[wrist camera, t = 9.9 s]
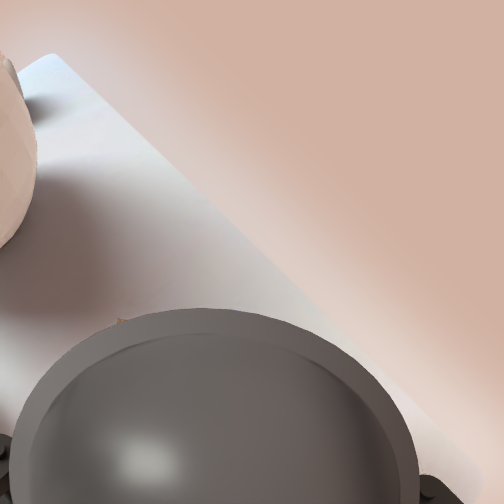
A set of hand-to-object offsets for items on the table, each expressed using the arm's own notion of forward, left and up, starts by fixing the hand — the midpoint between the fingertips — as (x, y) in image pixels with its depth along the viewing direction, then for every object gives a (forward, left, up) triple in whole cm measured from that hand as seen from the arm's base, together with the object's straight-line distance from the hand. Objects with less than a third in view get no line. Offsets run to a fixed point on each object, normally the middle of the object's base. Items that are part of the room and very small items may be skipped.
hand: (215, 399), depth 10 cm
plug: (0, -2, -6) cm, 6 cm away
